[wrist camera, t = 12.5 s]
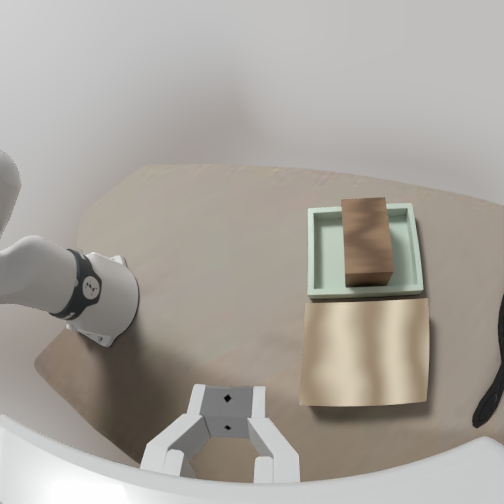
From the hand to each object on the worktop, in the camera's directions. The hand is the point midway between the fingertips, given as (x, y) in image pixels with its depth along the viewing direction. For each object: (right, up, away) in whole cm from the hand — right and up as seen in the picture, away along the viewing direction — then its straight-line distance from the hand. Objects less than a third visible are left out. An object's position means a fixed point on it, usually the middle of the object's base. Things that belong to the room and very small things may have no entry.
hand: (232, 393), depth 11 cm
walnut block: (+16, +2, +24) cm, 28 cm away
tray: (+17, +6, +29) cm, 34 cm away
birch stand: (+16, -8, +24) cm, 30 cm away
